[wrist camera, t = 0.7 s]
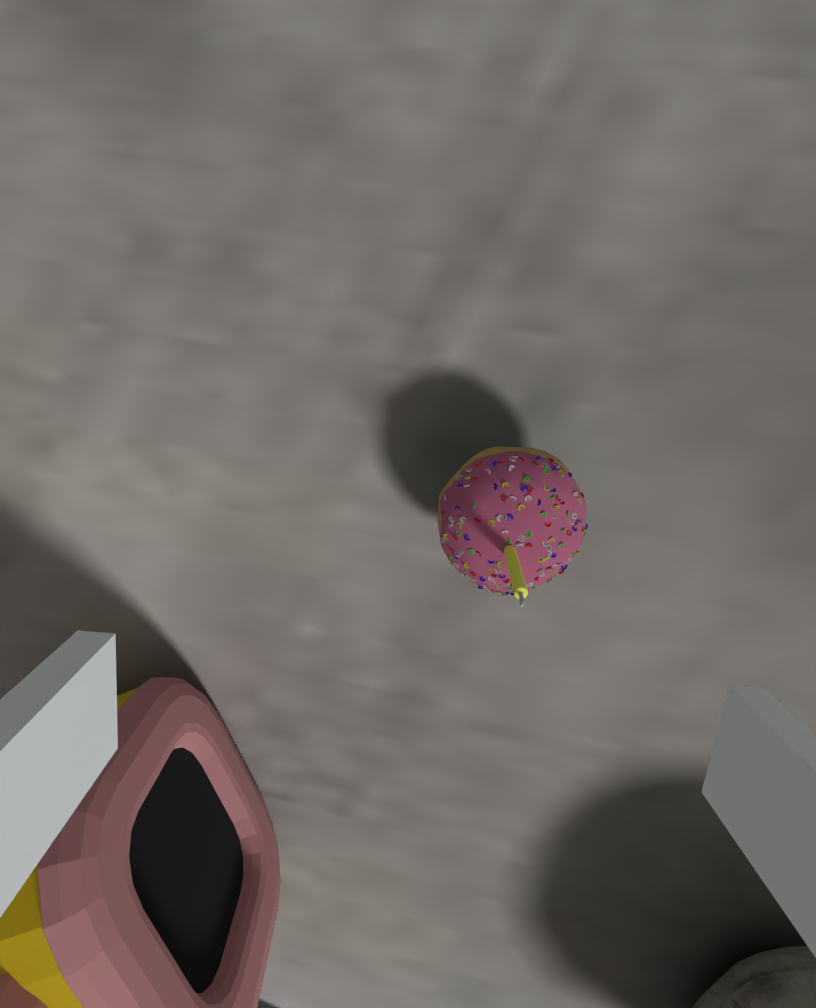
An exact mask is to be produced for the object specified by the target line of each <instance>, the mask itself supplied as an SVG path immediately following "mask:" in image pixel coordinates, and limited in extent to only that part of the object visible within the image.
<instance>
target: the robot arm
mask: <svg viewBox="0 0 816 1008" xmlns="http://www.w3.org/2000/svg"><path fill="white" fill-rule="evenodd" d="M117 749H118V732H117V683H116V634H115V633H103V632H91V631H79V630H78V631H77V632H75V633H74V634H73V635H72V636H71V637H70V638H69V639H68V640H66V641H65V642H64V643H63V644H62V645H61V646H60V647H59V648H57V649H56V650H55V651H54V652H53V653H52V654H51V655H50V656H48V657H47V658H46V659H45V660H44V661H43V662H42V663H41V664H39V665H38V666H37V667H36V668H35V669H34V670H33V671H32V672H30V673H29V674H28V675H27V676H26V677H25V678H24V679H23V680H21V681H20V682H19V683H18V684H17V685H16V686H15V687H14V688H13V689H11V690H10V691H9V692H8V693H7V694H6V695H5V696H4V697H2V698H1V699H0V917H1V916H2V915H3V913H4V912H5V910H6V909H7V907H8V906H9V904H10V903H11V902H12V900H13V899H14V897H15V896H16V894H17V893H18V891H19V890H20V889H21V887H22V886H23V884H24V883H25V881H26V880H27V878H28V877H29V876H30V874H31V873H32V871H33V870H34V868H35V867H36V866H37V864H38V863H39V861H40V860H41V858H42V857H43V855H44V854H45V853H46V851H47V850H48V848H49V847H50V845H51V844H52V842H53V841H54V840H55V838H56V837H57V835H58V834H59V832H60V831H61V829H62V828H63V827H64V825H65V824H66V822H67V821H68V819H69V818H70V816H71V815H72V814H73V812H74V811H75V809H76V808H77V806H78V805H79V803H80V802H81V801H82V799H83V798H84V796H85V795H86V793H87V792H88V790H89V789H90V788H91V786H92V785H93V783H94V782H95V780H96V779H97V777H98V776H99V775H100V773H101V772H102V770H103V769H104V767H105V766H106V765H107V763H108V762H109V760H110V759H111V757H112V756H113V754H114V753H115V752H116V750H117ZM701 792H702V794H703V795H704V796H705V798H706V799H707V801H708V802H709V804H710V805H711V807H712V808H713V810H714V811H715V812H716V814H717V815H718V817H719V818H720V820H721V821H722V823H723V824H724V825H725V827H726V828H727V830H728V831H729V833H730V834H731V836H732V837H733V839H734V840H735V841H736V843H737V844H738V846H739V847H740V849H741V850H742V852H743V853H744V855H745V856H746V857H747V859H748V860H749V862H750V863H751V865H752V866H753V868H754V869H755V870H756V872H757V873H758V875H759V876H760V878H761V879H762V881H763V882H764V884H765V885H766V886H767V888H768V889H769V891H770V892H771V894H772V895H773V897H774V898H775V900H776V901H777V902H778V904H779V905H780V907H781V908H782V910H783V911H784V913H785V914H786V915H787V917H788V918H789V920H790V921H791V923H792V924H793V926H794V927H795V929H796V930H797V931H798V933H799V934H800V936H801V937H802V939H803V940H804V942H805V943H806V945H807V946H808V947H809V949H810V950H811V952H812V953H813V955H814V956H815V958H816V735H815V734H814V733H813V732H812V731H810V730H809V729H808V728H807V727H806V726H805V725H804V724H803V723H802V722H801V721H800V720H799V719H797V718H796V717H795V716H794V715H793V714H792V713H791V712H790V711H789V710H788V709H787V708H786V707H784V706H783V705H782V704H781V703H780V702H779V701H778V700H777V699H776V698H775V697H774V696H773V695H771V694H770V693H769V692H768V691H767V690H766V689H765V688H762V687H750V686H738V685H730V687H729V690H728V694H727V698H726V702H725V705H724V709H723V713H722V716H721V720H720V724H719V728H718V731H717V735H716V739H715V743H714V746H713V750H712V754H711V758H710V761H709V765H708V769H707V773H706V776H705V780H704V784H703V788H702V791H701Z"/></svg>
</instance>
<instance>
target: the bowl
mask: <svg viewBox="0 0 816 1008" xmlns="http://www.w3.org/2000/svg"><path fill="white" fill-rule="evenodd" d="M692 1008H816V958H815V956H814V955H813V953H812V952H811V950H810V949H809V947H805V946H792V947H782V948H777V949H773V950H768V951H763V952H759V953H757V954H754V955H752V956H750V957H748V958H746V959H744V960H742V961H739V962H737V963H736V964H734V965H733V966H732V967H731V968H730V969H729V970H728V971H727V972H726V973H725V974H724V975H723V976H722V977H721V978H720V979H718V980H717V981H716V982H715V983H714V984H713V985H712V986H711V987H710V988H709V989H708V990H707V991H706V992H705V993H704V994H703V995H702V996H701V997H700V998H699V999H698V1001H697V1002H696V1003H695V1005H694V1006H693V1007H692Z"/></svg>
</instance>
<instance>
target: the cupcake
mask: <svg viewBox="0 0 816 1008" xmlns="http://www.w3.org/2000/svg"><path fill="white" fill-rule="evenodd" d="M583 497H584V495H583V494H582V493H581V492H580V489H579V487H578V485H577V483H576V481H575V480H574V478H573V476H572V474H571V473H570V471H569V470H568V468H567V467H566V466H565V465H564V464H563V463H562V462H561V461H560V460H559V459H558V458H556V457H555V456H553V455H551V454H549V453H547V452H545V451H542V450H538V449H534V448H527V447H501V446H495V447H491V448H488V449H485V450H483V451H481V452H479V453H477V454H476V455H474V456H473V457H471V458H470V459H469V460H468V461H467V462H466V463H465V464H464V465H463V466H462V467H461V468H460V469H459V470H458V471H457V472H456V473H455V474H454V475H453V477H452V478H451V479H450V480H449V482H448V483H447V484H446V485H445V486H444V488H443V489H442V491H441V493H440V495H439V506H438V526H439V534H440V542H441V545H442V547H443V550H444V552H445V554H446V555H447V557H448V559H449V561H450V562H451V563H452V565H453V566H454V567H455V568H456V569H457V570H458V571H459V572H460V573H461V574H462V576H463V577H464V576H465V577H466V579H468V580H470V581H471V582H473V583H475V584H477V585H478V588H479V589H483V588H484V589H486V590H488V592H489V591H492V592H493V593H494V592H496V593H498V594H500V593H502V596H504V597H506V596H508V594H509V593H510V594H511V595H515V597H516V598H518V599H519V600H520V606H521V607H523V606H524V598H525V597H526V596H527V595H528V590H531V589H533V588H535V587H537V586H539V585H541V584H543V583H544V582H546V581H547V582H550V581H551V580H552V577H554V576H556V574H557V573H559V574H562V573H563V572H564V569H566V568H567V565H568V563H569V562H571V559H572V558H573V557H574V555H577V554H578V553H579V551H578V549H579V548H580V546H581V544H582V541H583V538H584V535H585V534H586V531H585V529H587V527H588V525H587V524H586V504H585V500H584V498H583ZM585 527H586V528H585ZM576 552H577V553H576ZM561 571H562V572H561ZM480 587H481V588H480ZM503 593H504V594H503ZM512 593H514V594H512Z"/></svg>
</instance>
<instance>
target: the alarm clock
mask: <svg viewBox="0 0 816 1008" xmlns="http://www.w3.org/2000/svg"><path fill="white" fill-rule="evenodd" d="M117 732H118V749H117V750H116V752H115V753H114V754H113V756H112V757H111V759H110V760H109V762H108V763H107V765H106V766H105V767H104V769H103V770H102V772H101V773H100V775H99V776H98V777H97V779H96V780H95V782H94V783H93V785H92V786H91V788H90V789H89V790H88V792H87V793H86V795H85V796H84V798H83V799H82V801H81V802H80V803H79V805H78V806H77V808H76V809H75V811H74V812H73V814H72V815H71V816H70V818H69V819H68V821H67V822H66V824H65V825H64V827H63V828H62V829H61V831H60V832H59V834H58V835H57V837H56V838H55V840H54V841H53V842H52V844H51V845H50V847H49V848H48V850H47V851H46V853H45V854H44V855H43V857H42V858H41V860H40V861H39V863H38V864H37V866H36V867H35V868H34V870H33V871H32V873H31V874H30V876H29V877H28V878H27V880H26V881H25V883H24V884H23V886H22V887H21V889H20V890H19V891H18V893H17V894H16V896H15V897H14V899H13V900H12V902H11V903H10V904H9V906H8V907H7V909H6V910H5V912H4V913H3V915H2V916H1V917H0V1008H257V1006H258V1001H259V996H260V991H261V987H262V982H263V977H264V972H265V968H266V963H267V958H268V954H269V949H270V944H271V939H272V935H273V930H274V925H275V921H276V916H277V911H278V902H279V892H280V883H281V880H280V864H279V851H278V846H277V842H276V837H275V832H274V828H273V823H272V821H271V818H270V816H269V813H268V811H267V808H266V806H265V803H264V801H263V798H262V797H261V795H260V793H259V791H258V789H257V787H256V785H255V783H254V781H253V779H252V778H251V776H250V774H249V772H248V770H247V768H246V766H245V764H244V762H243V760H242V758H241V757H240V755H239V753H238V751H237V749H236V747H235V745H234V743H233V741H232V739H231V738H230V736H229V734H228V732H227V730H226V728H225V726H224V724H223V722H222V720H221V718H220V717H219V715H218V713H217V712H216V710H215V709H214V707H213V706H212V705H211V703H210V702H209V700H208V699H207V697H206V696H205V695H204V694H203V693H201V692H200V691H199V690H197V689H196V688H194V687H193V686H192V685H190V684H189V683H187V682H186V681H184V680H183V679H181V678H171V677H155V678H150V679H149V680H148V681H146V682H145V683H143V684H142V685H141V686H139V687H138V688H136V689H133V690H131V691H128V692H125V693H123V694H120V695H117Z"/></svg>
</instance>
